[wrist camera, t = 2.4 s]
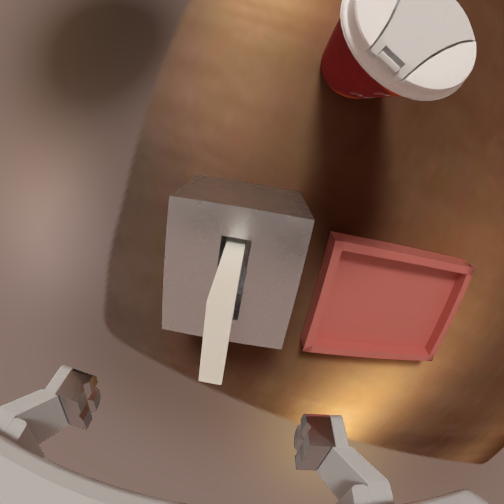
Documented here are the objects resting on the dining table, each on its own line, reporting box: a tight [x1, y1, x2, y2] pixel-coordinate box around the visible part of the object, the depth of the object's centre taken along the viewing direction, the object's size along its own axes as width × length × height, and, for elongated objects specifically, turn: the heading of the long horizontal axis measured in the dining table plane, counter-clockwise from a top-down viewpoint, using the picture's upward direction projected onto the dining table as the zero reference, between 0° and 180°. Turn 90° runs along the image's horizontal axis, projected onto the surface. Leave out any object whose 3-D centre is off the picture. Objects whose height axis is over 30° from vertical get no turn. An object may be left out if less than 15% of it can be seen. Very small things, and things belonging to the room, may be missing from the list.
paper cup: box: [321, 0, 476, 101], centre depth 17 cm, size 8×8×14 cm
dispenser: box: [162, 175, 315, 349], centre depth 25 cm, size 9×10×9 cm
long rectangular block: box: [199, 237, 246, 385], centre depth 20 cm, size 1×5×12 cm, turn 171°
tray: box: [301, 231, 475, 361], centre depth 30 cm, size 16×12×2 cm
